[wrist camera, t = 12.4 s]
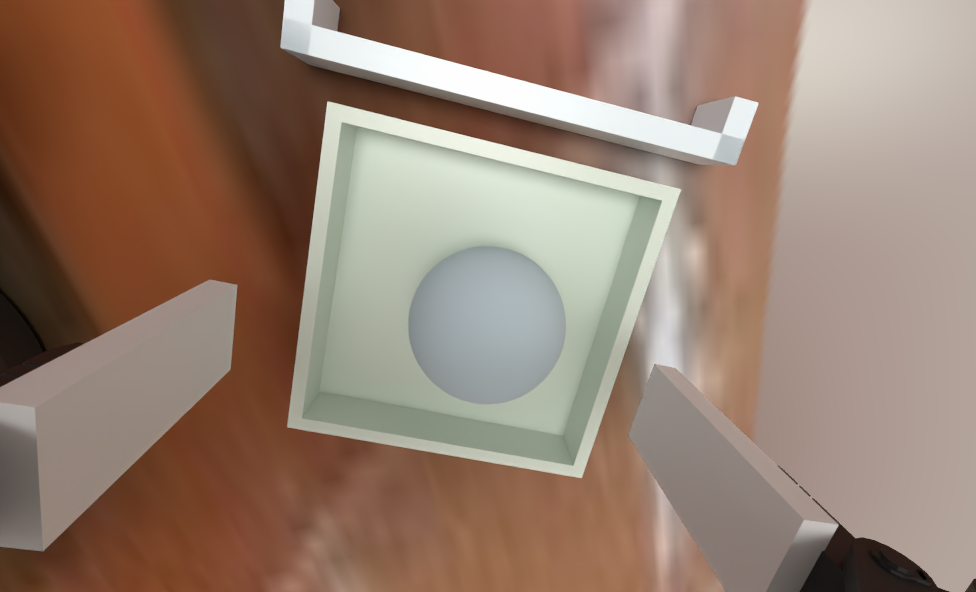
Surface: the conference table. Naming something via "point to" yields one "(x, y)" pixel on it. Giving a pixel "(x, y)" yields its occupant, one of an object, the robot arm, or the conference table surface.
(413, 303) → the ball
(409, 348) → the tray
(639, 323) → the conference table surface
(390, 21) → the conference table surface
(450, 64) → the white bar handle
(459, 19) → the conference table surface
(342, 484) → the conference table surface
